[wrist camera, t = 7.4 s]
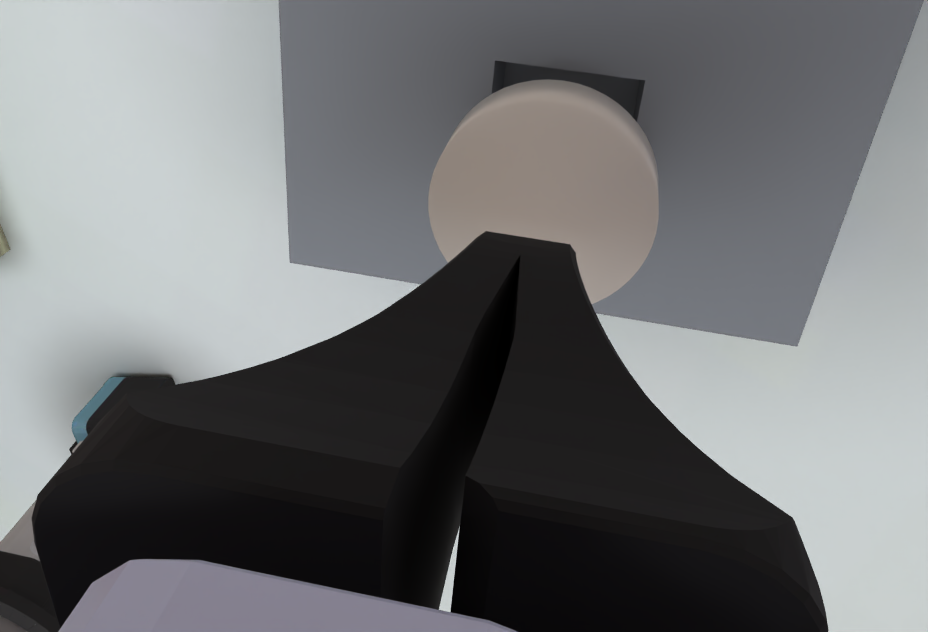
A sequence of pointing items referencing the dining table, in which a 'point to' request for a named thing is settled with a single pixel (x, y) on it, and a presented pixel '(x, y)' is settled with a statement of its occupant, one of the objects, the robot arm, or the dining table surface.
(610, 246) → the knob
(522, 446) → the robot arm
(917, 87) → the dining table surface
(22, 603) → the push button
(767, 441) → the dining table surface
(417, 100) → the knob panel
